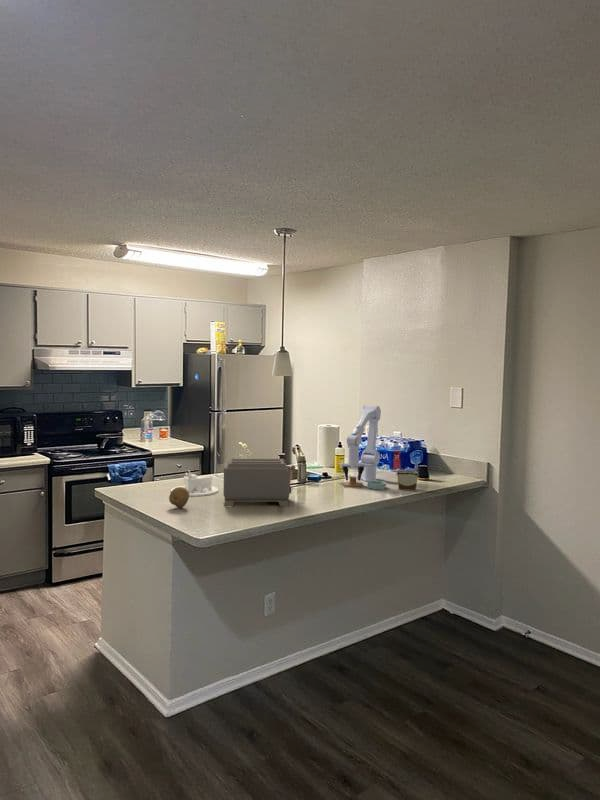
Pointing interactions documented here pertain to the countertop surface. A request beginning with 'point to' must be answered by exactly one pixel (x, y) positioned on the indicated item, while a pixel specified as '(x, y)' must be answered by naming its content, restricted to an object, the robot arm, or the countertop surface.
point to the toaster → (256, 481)
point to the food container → (407, 479)
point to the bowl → (377, 484)
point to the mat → (348, 486)
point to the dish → (198, 485)
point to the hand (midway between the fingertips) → (352, 480)
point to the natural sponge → (179, 497)
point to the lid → (352, 483)
